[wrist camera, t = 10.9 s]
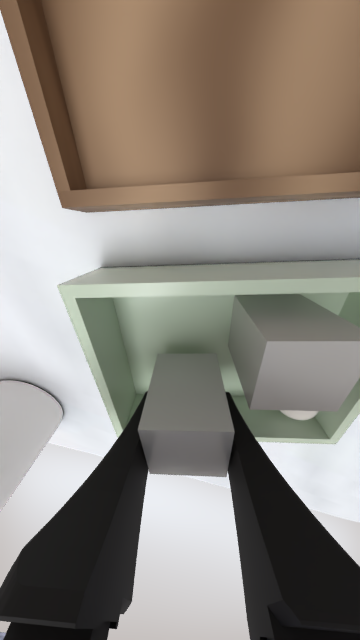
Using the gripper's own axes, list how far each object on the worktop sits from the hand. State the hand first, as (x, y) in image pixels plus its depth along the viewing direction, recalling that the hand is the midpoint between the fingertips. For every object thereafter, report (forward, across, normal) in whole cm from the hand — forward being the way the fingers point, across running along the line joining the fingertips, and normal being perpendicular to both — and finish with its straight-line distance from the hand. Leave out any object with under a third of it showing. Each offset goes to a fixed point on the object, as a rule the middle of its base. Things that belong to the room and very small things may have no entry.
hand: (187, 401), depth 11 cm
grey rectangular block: (+3, -5, -4) cm, 7 cm away
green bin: (+4, -2, -2) cm, 5 cm away
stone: (+2, 0, 0) cm, 2 cm away
